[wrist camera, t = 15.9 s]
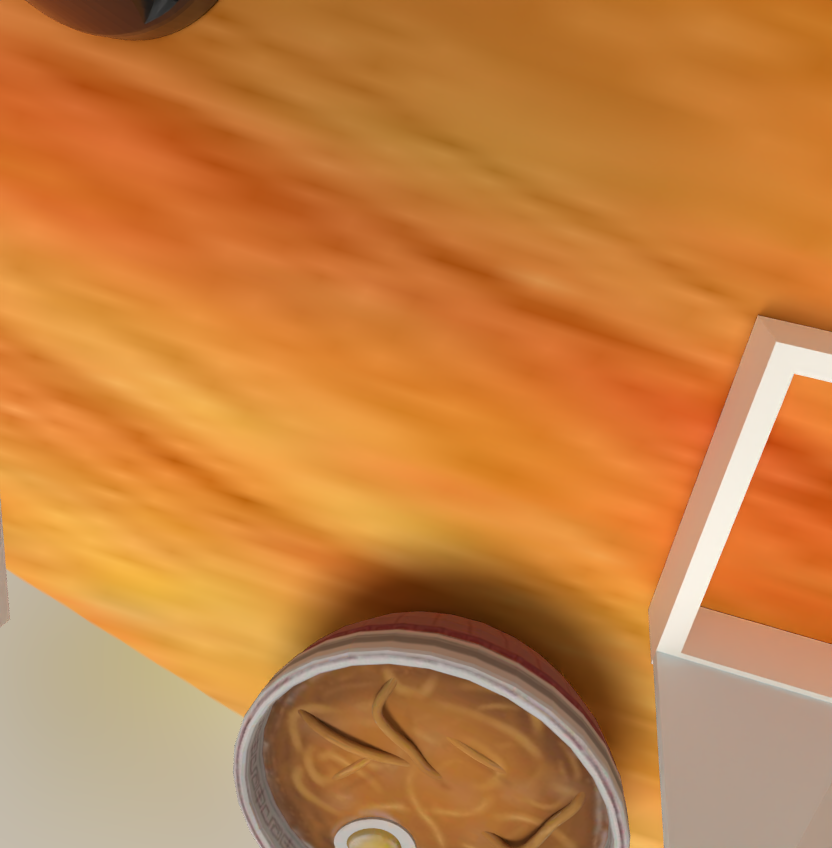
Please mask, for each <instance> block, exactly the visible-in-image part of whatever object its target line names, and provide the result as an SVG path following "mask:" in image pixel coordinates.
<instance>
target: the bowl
mask: <svg viewBox="0 0 832 848" xmlns="http://www.w3.org/2000/svg"><path fill="white" fill-rule="evenodd" d="M233 775H234V780H235V787H236V792H237V798H238V802H239V805H240V807H241V810H242V813H243V815H244V818H245V820H246V822H247V825H248V828H249V830H250V832H251V834H252V835H253V837H254V839H255V840H256V842H257V843H258V845H259V847H260V848H629V846H630V830H629V823H628V815H627V807H626V802H625V797H624V792H623V787H622V782H621V777H620V775H619V772H618V770H617V768H616V764H615V762H614V759H613V757H612V754H611V752H610V749H609V747H608V745H607V743H606V740H605V738H604V736H603V734H602V732H601V730H600V727H599V725H598V723H597V721H596V719H595V717H594V716H593V715H592V713H591V712H590V710H589V709H588V708H587V706H586V705H585V704H584V702H583V701H582V700H581V698H580V697H579V696H578V694H577V693H576V691H575V690H574V689H573V688H572V687H571V685H570V684H569V683H568V682H567V680H566V679H565V678H564V677H563V676H562V675H561V674H560V673H559V672H558V671H557V670H556V669H555V668H554V667H553V666H552V665H551V664H550V663H549V662H547V661H546V660H545V659H544V658H543V657H542V656H541V655H540V654H539V653H537V652H536V651H534V650H533V649H531V648H530V647H528V646H527V645H525V644H524V643H522V642H521V641H519V640H518V639H516V638H515V637H513V636H511V635H509V634H507V633H504V632H502V631H500V630H498V629H496V628H493V627H491V626H489V625H487V624H485V623H482V622H478V621H474V620H471V619H467V618H464V617H460V616H456V615H453V614H444V613H434V612H425V611H415V612H401V613H390V614H386V615H383V616H379V617H375V618H371V619H367V620H364V621H360V622H357V623H354V624H350V625H347V626H344V627H342V628H340V629H338V630H336V631H334V632H333V633H331V634H329V635H327V636H325V637H323V638H321V639H319V640H318V641H316V642H315V643H313V644H312V645H311V646H309V647H308V648H307V649H305V650H304V651H303V652H302V653H300V654H298V655H297V656H296V657H295V658H293V659H292V660H291V661H290V662H289V663H288V664H286V665H285V666H284V667H283V668H282V669H281V670H279V671H278V672H277V673H276V674H275V675H274V677H273V678H272V679H271V680H270V681H269V683H268V684H267V685H266V686H265V688H264V689H263V690H262V691H261V693H260V694H259V695H258V697H257V698H256V700H255V701H254V703H253V704H252V706H251V707H250V709H249V710H248V712H247V713H246V714H245V716H244V719H243V722H242V725H241V728H240V731H239V734H238V737H237V740H236V743H235V749H234V766H233Z"/></svg>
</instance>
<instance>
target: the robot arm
mask: <svg viewBox="0 0 832 848" xmlns="http://www.w3.org/2000/svg"><path fill="white" fill-rule="evenodd" d="M25 1H27V2H28V3H29V4H31V5H32V6H34V7H35V8H36V9H38V10H39V11H40V12H42V13H44V14H45V15H47V16H48V17H50V18H52V19H53V20H55V21H57V22H59V23H61V24H63V25H66V26H68V27H70V28H73V29H75V30H78V31H81V32H84V33H88V34H92V35H97V36H103V37H110V38H116V39H123V40H148V39H154V38H159V37H163V36H166V35H169V34H172V33H174V32H176V31H179V30H181V29H183V28H184V27H186V26H188V25H190V24H191V23H193V22H194V21H196V20H197V19H198V18H200V17H201V16H202V15H203V14H205V13H206V12H207V11H208V10H209V9H210V8H211V7H212V6H213V5H214V4H215V3H216V1H217V0H25ZM9 619H10V616H9V603H8V590H7V578H6V565H5V552H4V539H3V526H2V514H1V501H0V627H1V626H2V625H3V624H5V623H6V622H7V621H8V620H9ZM797 848H832V782H831V784H830V786H829V788H828V790H827V792H826V793H825V795H824V797H823V799H822V801H821V803H820V805H819V807H818V808H817V810H816V812H815V814H814V816H813V818H812V820H811V822H810V823H809V825H808V827H807V829H806V831H805V833H804V835H803V837H802V838H801V840H800V842H799V844H798V846H797Z"/></svg>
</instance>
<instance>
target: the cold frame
mask: <svg viewBox="0 0 832 848" xmlns="http://www.w3.org/2000/svg"><path fill="white" fill-rule="evenodd" d="M794 374H798V375H802V376H806V377H811V378H815V379H819V380H823V381H827V382H832V332H830V331H825V330H821V329H817V328H812V327H808V326H804V325H799V324H795V323H790V322H786V321H782V320H777V319H773V318H768V317H764V316H760V315H758V316H757V319H756V322H755V324H754V327H753V330H752V332H751V335H750V338H749V340H748V343H747V346H746V348H745V351H744V354H743V356H742V359H741V362H740V365H739V367H738V370H737V373H736V375H735V378H734V381H733V383H732V386H731V389H730V391H729V394H728V397H727V399H726V402H725V405H724V408H723V410H722V413H721V416H720V418H719V421H718V424H717V426H716V429H715V432H714V434H713V437H712V440H711V442H710V445H709V448H708V450H707V453H706V456H705V459H704V461H703V464H702V467H701V469H700V472H699V475H698V477H697V480H696V483H695V485H694V488H693V491H692V493H691V496H690V499H689V502H688V504H687V507H686V510H685V512H684V515H683V518H682V520H681V523H680V526H679V528H678V531H677V534H676V536H675V539H674V542H673V545H672V547H671V550H670V553H669V555H668V558H667V561H666V563H665V566H664V569H663V571H662V574H661V577H660V579H659V582H658V585H657V588H656V590H655V593H654V596H653V598H652V601H651V604H650V606H649V609H648V613H649V632H650V650H651V664H653V669H654V686H655V703H656V720H657V737H658V754H659V771H660V788H661V805H662V822H663V839H664V848H797V846H798V844H799V842H800V840H801V838H802V837H803V835H804V833H805V831H806V829H807V827H808V825H809V823H810V822H811V820H812V818H813V816H814V814H815V812H816V810H817V808H818V807H819V805H820V803H821V801H822V799H823V797H824V795H825V793H826V792H827V790H828V788H829V786H830V784H831V782H832V644H829V643H825V642H822V641H818V640H815V639H811V638H808V637H804V636H801V635H797V634H794V633H790V632H787V631H783V630H780V629H777V628H773V627H770V626H766V625H763V624H759V623H756V622H752V621H749V620H745V619H742V618H738V617H735V616H731V615H728V614H724V613H721V612H717V611H714V610H710V609H707V608H703V607H700V604H701V602H702V599H703V597H704V594H705V592H706V590H707V587H708V585H709V582H710V580H711V577H712V575H713V572H714V570H715V567H716V565H717V562H718V560H719V557H720V555H721V553H722V550H723V548H724V545H725V543H726V540H727V538H728V535H729V533H730V530H731V528H732V525H733V523H734V520H735V518H736V516H737V513H738V511H739V508H740V506H741V503H742V501H743V498H744V496H745V493H746V491H747V488H748V486H749V483H750V481H751V479H752V476H753V474H754V471H755V469H756V466H757V464H758V461H759V459H760V456H761V454H762V451H763V449H764V446H765V444H766V442H767V439H768V437H769V434H770V432H771V429H772V427H773V424H774V422H775V419H776V417H777V414H778V412H779V409H780V407H781V405H782V402H783V400H784V397H785V395H786V392H787V390H788V387H789V385H790V382H791V380H792V377H793V375H794Z"/></svg>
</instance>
